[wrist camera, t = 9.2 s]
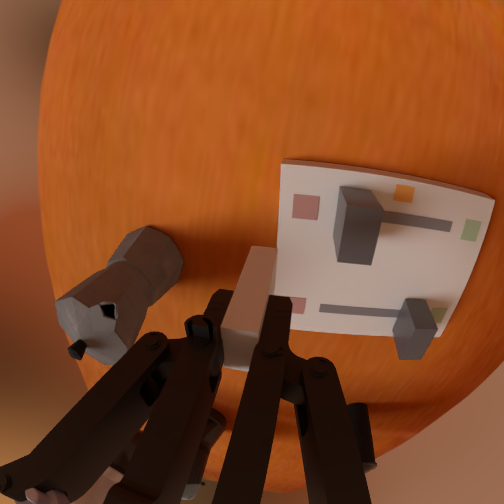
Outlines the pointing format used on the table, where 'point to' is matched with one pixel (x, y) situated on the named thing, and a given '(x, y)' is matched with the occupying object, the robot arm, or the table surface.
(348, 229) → the lever
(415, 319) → the on lever
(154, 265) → the coffeepot
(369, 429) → the drinking cup
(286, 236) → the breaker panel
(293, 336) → the table surface
